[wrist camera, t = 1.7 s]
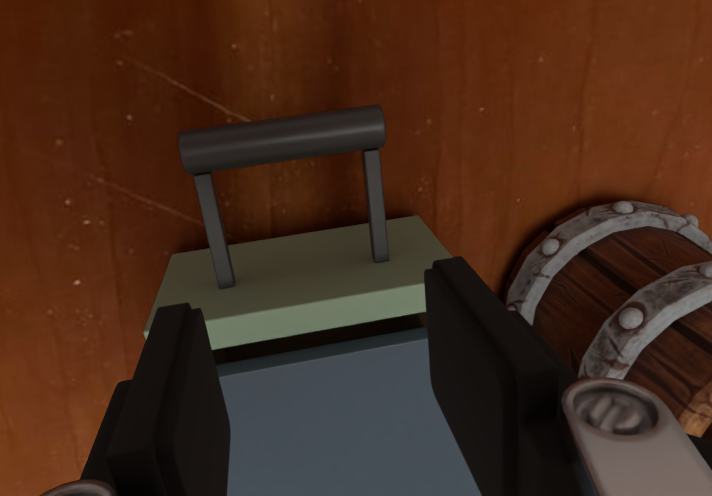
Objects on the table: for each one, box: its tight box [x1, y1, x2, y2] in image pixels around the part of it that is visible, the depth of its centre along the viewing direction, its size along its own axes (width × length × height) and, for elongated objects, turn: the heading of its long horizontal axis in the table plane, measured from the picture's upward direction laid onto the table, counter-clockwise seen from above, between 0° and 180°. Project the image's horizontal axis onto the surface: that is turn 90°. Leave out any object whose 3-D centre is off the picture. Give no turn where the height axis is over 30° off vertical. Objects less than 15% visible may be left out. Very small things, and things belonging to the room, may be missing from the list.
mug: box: [503, 200, 712, 441], centre depth 24 cm, size 12×14×15 cm
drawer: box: [144, 105, 453, 365], centre depth 24 cm, size 19×11×7 cm, turn 6°
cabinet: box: [216, 327, 482, 496], centre depth 26 cm, size 15×13×9 cm
